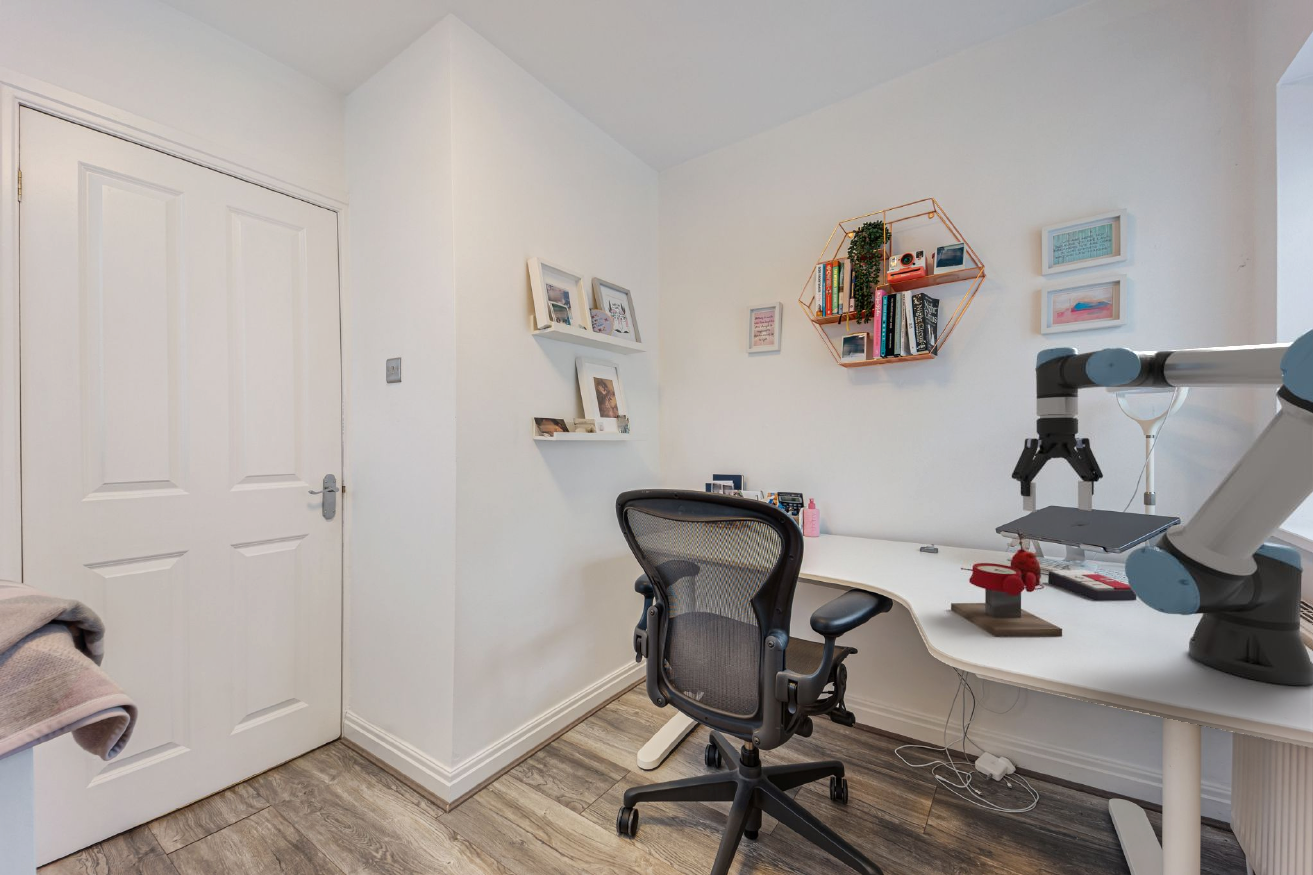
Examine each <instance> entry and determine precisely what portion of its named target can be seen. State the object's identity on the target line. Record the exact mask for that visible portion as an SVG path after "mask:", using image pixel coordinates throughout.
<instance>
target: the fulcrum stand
mask: <svg viewBox="0 0 1313 875" xmlns="http://www.w3.org/2000/svg"><path fill="white" fill-rule="evenodd" d="M984 590H985V592H984V593H985V597H984V602H965V603H964V602H957V603H956V602H954V603H953V602H952V603H950V610H951V611H953V613H956V614H958V615H959V616H961V617H962V618H964V619H966V620H968V621H969V622H971V623H972V624H974V625H975V626H977V627H979V628H981V629H982V630H984V631H985V632H987V633H989V634H991V635H992V636H994V637H995V638H997V637H999V638H1000V637H1001V636H1004V637H1005V638H1006V637H1008V636H1010V637H1063V628H1061V627H1059V626H1057V625H1055V624H1053V623H1051V622H1049V621H1048V620H1045V619H1043V618H1041V617H1040V616H1037V615H1035V614H1033V613H1031V612H1029V611H1026V610H1025V609H1022V592H1021V593H1020V594H1018V595H1009V594H1007V593H1006V592H1001V591H994V590H988V589H984ZM1004 637H1003V638H1004Z"/></svg>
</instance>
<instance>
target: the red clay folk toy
mask: <svg viewBox="0 0 1313 875" xmlns="http://www.w3.org/2000/svg"><path fill="white" fill-rule="evenodd" d="M1016 531H1017V532H1018V533H1017V534H1016V536H1018V538H1019V543H1018V544H1019V545H1020V549H1017V551H1016V552H1015V553H1014V554H1013V556H1012V558H1011V561H1010V565H1009V566H1010V567H1014V568H1017V569H1019V570H1020V571H1021V580H1022V581H1023V582H1024V583H1026V576H1027V573H1028V572H1029V573H1033V574H1034V575H1035V577H1036V582H1037V583H1039V584H1040V585H1041V581H1040V580H1041V579H1042V578H1041V577H1042V574H1041V573H1042V572H1041V565H1040V562H1039V560H1038V558H1037V556H1036V554H1034V553H1033V552H1029V551H1027V550H1025V549H1024V547H1023V541H1022V539H1024V540H1026V535H1022V531H1019V529H1018V528H1017V529H1016Z"/></svg>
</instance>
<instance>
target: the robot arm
mask: <svg viewBox="0 0 1313 875" xmlns="http://www.w3.org/2000/svg"><path fill="white" fill-rule="evenodd" d="M1035 363H1036V365H1035V370H1034V371H1035V376H1036V377H1035V379H1036V381H1035V382H1036V385H1035V386H1036V389H1035V390H1036V391H1035V392H1036V416H1038V417H1039V418H1037V419H1036V421H1035V422H1036V434H1037V435H1038V438H1032V437H1031V438H1025V439H1024V447H1023V450H1022V451H1021V454H1020V456H1019V458H1018V461H1017V463H1016V465H1015V467H1014V469H1013V471H1012V474H1011V478H1012V479H1013V480H1016V481H1017V482H1020V495H1021V497H1022V511H1025V512H1032V513H1034V512H1035V513H1036V512H1037V509H1036V508H1037V507H1036V502H1037V500H1036V499H1037V497H1036V496H1037V495H1036V486H1037V485H1036V482H1033V480H1034V479H1035V478H1036V477H1037V475H1038V473H1039V472H1041V470H1042V469H1043V467H1044V466H1045V465H1046V464H1047V462H1048V461H1049V460H1052V459H1064V460H1065V461H1066V462H1067V463H1068V464H1069V465H1070V467H1071V468H1072V469H1073V470H1074V472H1075V473H1076V474H1077V475H1078V476H1079V478H1080V479H1081V480H1078V481H1077V504H1078V505H1077V509H1078V510H1082V511H1087V512H1088V511H1089V512H1091V511H1093V496H1094V494H1095V493H1094V492H1095V484H1094V483H1096V482H1099V480H1100V479H1103V477H1104V474H1103V472H1102V470H1101V468H1100V466H1099V463H1098V461H1097V460H1096V457H1095V455H1094V452H1093V451H1092V448H1091V443H1090V441H1091V440H1090V439H1089V438H1088V437H1077V438H1076V435H1077V434H1078V433H1079V419H1078V418H1077V417H1076V416H1078V415H1079V390H1081V389H1091V388H1093V389H1094V388H1157V389H1158V388H1160V389H1169V388H1255V389H1257V388H1260V389H1261V388H1265V389H1266V388H1269V389H1270V388H1279V389H1278V390H1277V392H1276V394H1275V396H1276V398H1277V399H1278V400H1277V401H1279V403H1280V405H1281V408H1280V410H1278V412H1277V413H1276V414H1275V416H1274V417H1273V418H1272V419H1271V420H1270V422H1268V424H1267V426H1265V428H1264V429H1263V430H1262V432H1261V433H1260V434H1259V435H1258V436H1257V438H1256V439H1255V440H1254V441H1253V443H1252V444H1251V445H1250V446H1249V447H1248V449H1247V450H1246V451H1245V452H1244V453H1243V454H1242V456H1241V457H1240V458H1239V460H1237V462H1236V463H1235V464H1234V466H1233V467H1232V468H1231V470H1230V471H1229V472H1228V473H1227V475H1226V476H1225V477H1224V478H1223V479H1222V480H1221V482H1220V483H1219V484H1218V485H1217V487H1216V488H1215V489H1214V490H1213V492H1211V494H1210V495H1209V496H1208V498H1206V500H1205V501H1204V502H1203V504H1201V506H1200V508H1198V510H1197V511H1196V512H1195V514H1193V516H1192V517H1191V519H1190V520H1189V521H1188V522H1187V523H1186V524H1173V525H1171V526H1169V528H1167V530H1166V531H1165V533H1164V534H1163V535H1162V536H1161V537H1160V539H1158V541H1157V543H1155V544H1154V545H1145V546H1141V547H1139V548H1136V549H1134V550H1132V551H1131V552H1130V553H1129V555H1128V556H1126V560H1125V565H1124V572H1125V577H1126V578H1127V580H1128V581H1127V582H1128V585H1129V586H1130V587H1131V589H1132V590H1133V592H1134V593H1135V594H1136V598H1138V599H1139V600H1140V601H1141V602H1142V603H1143V604H1145V605H1146V606H1148V607H1149V608H1151V609H1153V610H1155V611H1157V612H1159V613H1164V614H1168V615H1180V616H1189V615H1197V614H1198V615H1199V614H1202V616H1201V618H1200V620H1199V621H1198V623H1197V625H1196V628H1195V630H1194V632H1193V635H1192V636H1191V637H1190V639H1189V640H1188V641H1189V642H1188V654H1189V655H1190V656H1191V657H1192V658H1193V659H1195V660H1196V661H1198V662H1199V663H1201V664H1204V665H1205V666H1208V667H1211V668H1213V669H1216V670H1219V671H1222V672H1225V673H1228V674H1231V675H1234V676H1238V677H1242V678H1245V679H1249V680H1250V679H1251V680H1255V681H1261V682H1265V683H1272V684H1276V685H1277V684H1278V685H1285V686H1309V685H1312V684H1313V662H1312V660H1311V658H1310V655H1309V652H1308V650H1307V647H1306V644H1305V642H1304V639H1303V637H1302V635H1301V603H1302V602H1301V600H1302V576H1303V575H1302V573H1303V572H1304V569H1303V567H1302V556H1301V553H1300V552H1299V551H1298V550H1297V549H1296V548H1294V547H1292V546H1288V545H1284V544H1279V543H1274V542H1267V541H1268V539H1269V538H1270V537H1271V536H1272V535H1273V534H1274V533H1275V532H1276V531H1277V530H1278V529H1279V528H1280V527H1281V526H1282V524H1284V523H1285V521H1287V519H1288V518H1289V517H1290V516H1291V515H1292V514H1293V513H1295V511H1296V510H1297V509H1298V508H1299V507H1300V506H1301V505H1302V504H1303V503H1304V501H1305V500H1307V498H1308V497H1309V496H1311V494H1312V493H1313V327H1312V328H1310V329H1308V330H1306V331H1305V332H1304V333H1302V334H1301V335H1300V336H1298V337H1297V338H1295V340H1294V341H1293V342H1289V343H1288V342H1287V343H1271V344H1259V345H1258V344H1257V345H1255V344H1254V345H1240V346H1239V345H1238V346H1224V347H1223V346H1222V347H1208V348H1207V347H1206V348H1193V349H1192V348H1191V349H1190V348H1189V349H1172V350H1155V351H1154V350H1153V351H1150V350H1149V351H1145V350H1144V351H1143V350H1142V351H1139V350H1137V351H1136V350H1131V348H1128V347H1115V348H1114V347H1113V348H1109V347H1107V348H1103V349H1101V350H1096V351H1095V350H1094V351H1091V352H1084V353H1079V352H1078V349H1077V348H1075V347H1054V348H1046V349H1043V350H1040V351H1039V352H1038V353H1037V355H1036V362H1035ZM1038 448H1039V449H1038Z"/></svg>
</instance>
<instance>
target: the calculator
mask: <svg viewBox="0 0 1313 875" xmlns="http://www.w3.org/2000/svg"><path fill="white" fill-rule="evenodd" d="M1047 578H1048V579H1047V580H1048V581H1047V582H1048V584H1049V585H1051V586H1055V587H1057V588H1059V589H1064V590H1067V591H1068V592H1071V593H1073V594H1076V595H1079V596H1080V597H1084V598H1086V597H1087V599H1089V600H1092V601H1094V600H1095V601H1096V602H1109V601H1110V602H1111V601H1113V602H1114V601H1136V600H1137V596H1136V594H1135V593H1134V592H1133V590H1132V589H1131V587H1130V585H1129V584H1126V583H1124V582H1121V581H1119V580H1116V579H1112V578H1110V577H1107V576H1105V575H1103V574H1098V573H1094V572H1092V571H1089V570H1087V569H1074V570H1073V569H1071V570H1070V569H1069V570H1063V569H1062V570H1051V571H1050V570H1049V571H1048V577H1047Z"/></svg>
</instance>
